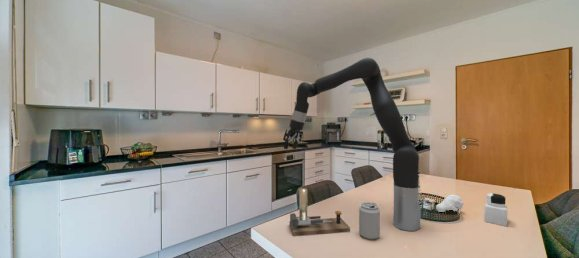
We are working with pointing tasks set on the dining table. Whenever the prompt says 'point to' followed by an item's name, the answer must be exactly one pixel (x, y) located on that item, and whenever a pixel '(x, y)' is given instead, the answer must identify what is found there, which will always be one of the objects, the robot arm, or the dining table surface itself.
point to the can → (369, 220)
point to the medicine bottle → (495, 209)
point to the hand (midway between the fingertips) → (289, 148)
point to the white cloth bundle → (450, 203)
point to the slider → (305, 210)
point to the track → (319, 226)
